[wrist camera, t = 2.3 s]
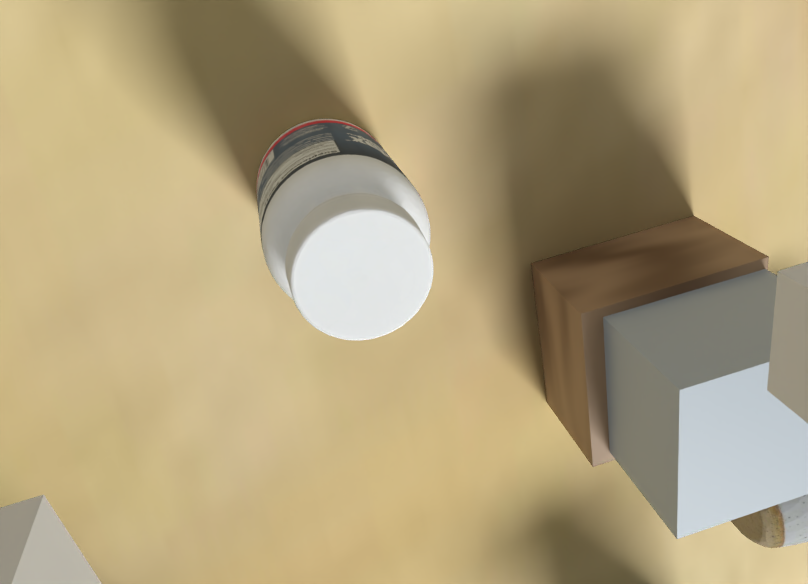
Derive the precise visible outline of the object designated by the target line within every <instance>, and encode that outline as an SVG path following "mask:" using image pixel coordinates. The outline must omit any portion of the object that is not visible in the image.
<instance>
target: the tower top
mask: <svg viewBox="0 0 808 584" xmlns="http://www.w3.org/2000/svg"><path fill="white" fill-rule="evenodd" d="M776 285H777V275H775V274H773V273H771V272H770V271H768V270H766V269H763V270H760V271H756V272H753V273H750V274H746V275H743V276H739V277H736V278H733V279H729V280H726V281H723V282H719V283H716V284H713V285H709V286H706V287H702V288H699V289H696V290H692V291H689V292H686V293H682V294H679V295H676V296H672V297H669V298H666V299H662V300H659V301H655V302H652V303H649V304H645V305H642V306H639V307H635V308H632V309H629V310H625V311H622V312H618V313H615V314H612V315H608V316H605V317H603V327H604V347H605V368H606V388H607V408H608V428H609V449H610V453H611V454H612V456H613V457H614V458H615V459H616V461H617V462H618V463H619V465H620V466H621V467H622V468H623V470H624V471H625V472H626V474H627V475H628V476H629V478H630V479H631V480H632V481H633V483H634V484H635V485H636V487H637V488H638V489H639V490H640V492H641V493H642V494H643V496H644V497H645V498H646V500H647V501H648V502H649V503H650V505H651V506H652V507H653V509H654V510H655V511H656V513H657V514H658V515H659V516H660V518H661V519H662V520H663V522H664V523H665V524H666V525H667V527H668V528H669V529H670V531H671V532H672V533H673V535H674V536H675V537H676V538H677V539H679V538H682V537H685V536H687V535H690V534H693V533H696V532H699V531H702V530H705V529H708V528H711V527H714V526H717V525H719V524H722V523H725V522H728V521H731V520H734V519H737V518H740V517H743V516H746V515H748V514H751V513H754V512H757V511H760V510H763V509H766V508H769V507H772V506H775V505H777V504H780V503H783V502H786V501H789V500H792V499H795V498H798V497H801V496H804V495H807V494H808V423H807V422H805V421H804V420H803V419H802V418H800V417H799V416H798V415H797V414H796V413H794V412H793V411H792V410H791V409H789V408H788V407H787V406H786V405H785V404H783V403H782V402H781V401H780V400H778V399H777V398H776V397H775V396H773V395H772V394H771V393H770V392H769V391H767V384H768V373H769V362H770V351H771V340H772V329H773V318H774V307H775V296H776Z"/></svg>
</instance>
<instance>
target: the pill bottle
mask: <svg viewBox="0 0 808 584" xmlns="http://www.w3.org/2000/svg"><path fill="white" fill-rule="evenodd" d="M257 202H258V213H259V222H260V233H261V243H262V249H263V253H264V257H265V260H266V263H267V266H268V268H269V270H270V272H271V274H272V276H273V278H274V279H275V281H276V282H277V284H278V285H279V286H280V288H281V289H282V290H283V291H284V292H285V293H286V294H287V295H288V296H290V297H291V298H292V299H293V300H294V302H295V304H296V306H297V308H298V310H299V311H300V313H301V314H302V316H303V317H304V318H305V319H306V320H307V321H308V322H309V323H310V324H311V325H313V326H314V327H315V328H317V329H318V330H320V331H322V332H323V333H326V334H328V335H330V336H333V337H336V338H340V339H345V340H368V339H373V338H377V337H380V336H383V335H386V334H388V333H390V332H392V331H394V330H396V329H398V328H400V327H401V326H403V325H404V324H405V323H406V322H407V321H409V320H410V319H411V318H412V317H413V316H414V315H415V314H416V313H417V312H418V310H419V309H420V307H421V306H422V304H423V303H424V301H425V299H426V298H427V296H428V293H429V290H430V288H431V284H432V278H433V259H432V254H431V251H430V247H429V246H430V223H429V218H428V214H427V211H426V208H425V205H424V203H423V201H422V199H421V197H420V195H419V193H418V192H417V190H416V189H415V188H414V186H413V185H412V184H411V182H410V181H409V180H408V179H407V177H406V176H405V175H404V174H403V173H402V171H401V170H400V169H399V168H398V167H397V165H396V164H395V163H394V161H393V160H392V159H391V158H390V157H389V155H388V154H387V153H386V152H385V151H384V149H383V148H382V147H381V145H380V144H379V143H378V142H377V141H376V140H375V139H374V138H373V137H372V136H371V135H370V134H368V133H367V132H366V131H364V130H363V129H361V128H360V127H358V126H356V125H354V124H351V123H349V122H345V121H342V120H337V119H315V120H310V121H306V122H303V123H300V124H298V125H296V126H294V127H292V128H290V129H288V130H287V131H286V132H284V133H283V134H281V135H280V136H279V137H278V138H277V139H276V140H275V141H274V142H273V143H272V144H271V146H270V147H269V149H268V150H267V152H266V153H265V155H264V157H263V159H262V161H261V164H260V167H259V171H258V176H257Z"/></svg>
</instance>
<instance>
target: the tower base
mask: <svg viewBox="0 0 808 584" xmlns="http://www.w3.org/2000/svg"><path fill="white" fill-rule="evenodd" d="M768 259H769V257H768V256H766V255H764V254H763V253H761V252H759V251H757V250H755V249H754V248H752V247H750V246H748V245H746V244H744V243H743V242H741V241H739V240H737V239H735V238H733V237H732V236H730V235H728V234H726V233H724V232H723V231H721V230H719V229H717V228H715V227H713V226H712V225H710V224H708V223H706V222H704V221H702V220H701V219H699V218H697V217H695V216H691V217H688V218H684V219H681V220H677V221H674V222H671V223H667V224H664V225H660V226H657V227H653V228H650V229H647V230H643V231H640V232H636V233H633V234H630V235H626V236H623V237H619V238H616V239H613V240H609V241H606V242H602V243H599V244H595V245H592V246H589V247H585V248H582V249H578V250H575V251H572V252H568V253H565V254H561V255H558V256H555V257H551V258H548V259H544V260H541V261H537V262H534V263H531V267H532V276H533V285H534V293H535V302H536V310H537V319H538V328H539V336H540V345H541V353H542V362H543V371H544V379H545V388H546V396H547V403H548V405H549V406H550V407H551V409H552V410H553V412H554V413H555V414H556V416H557V417H558V419H559V420H560V421H561V423H562V424H563V426H564V427H565V428H566V430H567V431H568V433H569V434H570V435H571V437H572V438H573V440H574V441H575V442H576V444H577V445H578V447H579V448H580V449H581V451H582V452H583V454H584V455H585V456H586V458H587V459H588V461H589V462H590V463H591V465H592V466H593V467H594V466H597V465H600V464H603V463H606V462H609V461H612V460H615V458H614V457H613V456H612V454H611V453H610V449H609V428H608V408H607V388H606V368H605V347H604V327H603V317H605V316H608V315H612V314H615V313H618V312H622V311H625V310H629V309H632V308H635V307H639V306H642V305H645V304H649V303H652V302H655V301H659V300H662V299H666V298H669V297H672V296H676V295H679V294H682V293H686V292H689V291H692V290H696V289H699V288H702V287H706V286H709V285H713V284H716V283H719V282H723V281H726V280H729V279H733V278H736V277H739V276H743V275H746V274H750V273H753V272H756V271H760V270H763V269H766V270H768Z"/></svg>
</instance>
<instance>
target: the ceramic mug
mask: <svg viewBox="0 0 808 584" xmlns="http://www.w3.org/2000/svg"><path fill="white" fill-rule="evenodd" d="M731 522H732V523H733V524H734V525H735V526H736V527H737V528H738V530H739V531H740V532H741V533H742V534H743V535H745V536H746V537H747V538H748V539H750V540H752V541H753V542H755V543H757V544H759V545H762V546H764V547H768V548H777V547H784V546H790V545H796V544H800V543H804V542H808V494H807V495H804V496H801V497H798V498H795V499H792V500H789V501H786V502H783V503H780V504H777V505H775V506H772V507H769V508H766V509H763V510H760V511H757V512H754V513H751V514H748V515H746V516H743V517H740V518H737V519H734V520H731Z"/></svg>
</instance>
